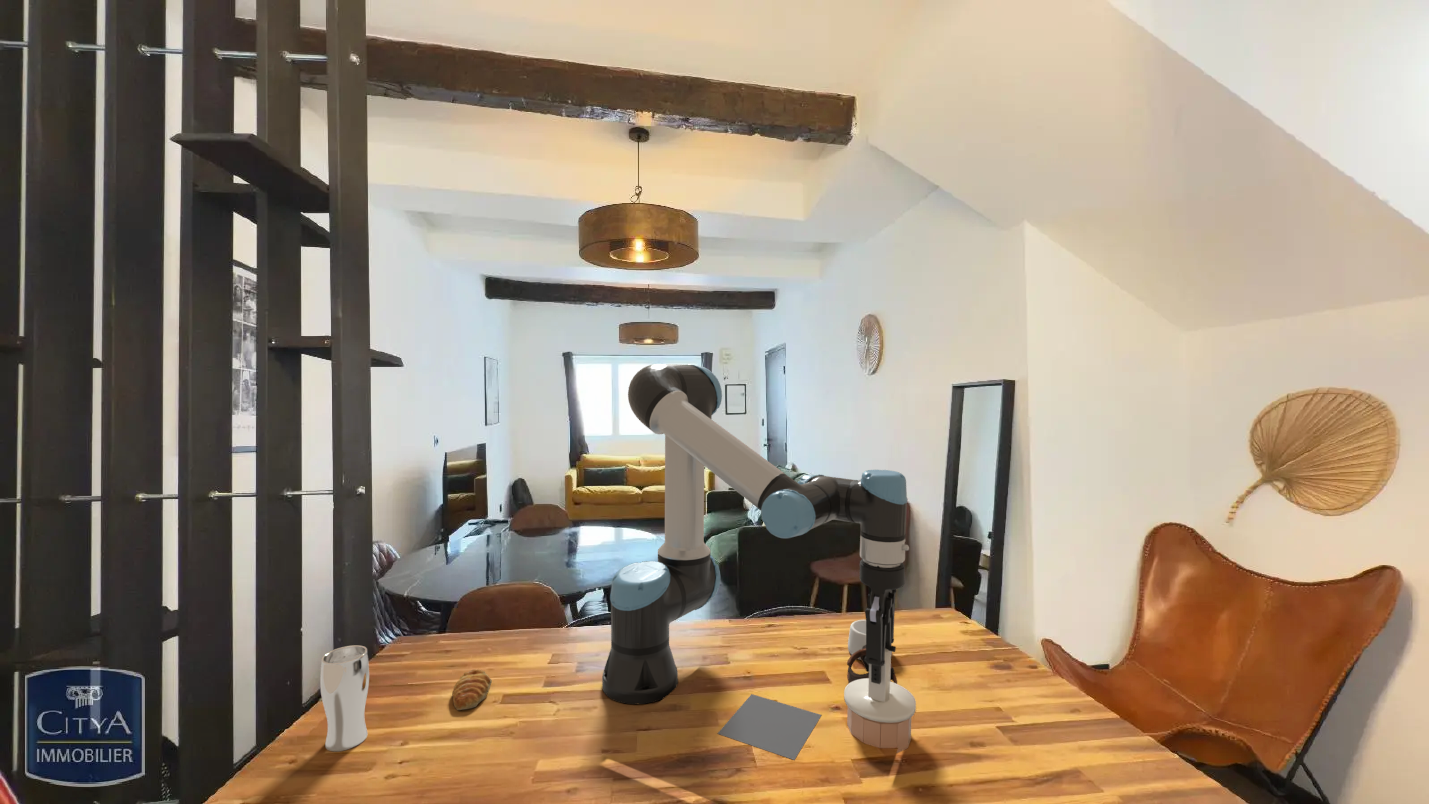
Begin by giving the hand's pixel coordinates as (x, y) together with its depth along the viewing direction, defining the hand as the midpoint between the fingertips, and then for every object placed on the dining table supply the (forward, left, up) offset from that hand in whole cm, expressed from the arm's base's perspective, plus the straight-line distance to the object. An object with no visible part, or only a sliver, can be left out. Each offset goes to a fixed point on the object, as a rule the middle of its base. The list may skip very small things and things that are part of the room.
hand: (879, 692), depth 100 cm
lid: (0, 0, -2) cm, 2 cm away
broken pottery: (-5, +16, -8) cm, 19 cm away
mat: (-17, -8, -7) cm, 20 cm away
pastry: (-72, -26, -8) cm, 77 cm away
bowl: (0, 0, -7) cm, 7 cm away
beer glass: (-79, -46, -8) cm, 92 cm away
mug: (-8, +28, -8) cm, 30 cm away
